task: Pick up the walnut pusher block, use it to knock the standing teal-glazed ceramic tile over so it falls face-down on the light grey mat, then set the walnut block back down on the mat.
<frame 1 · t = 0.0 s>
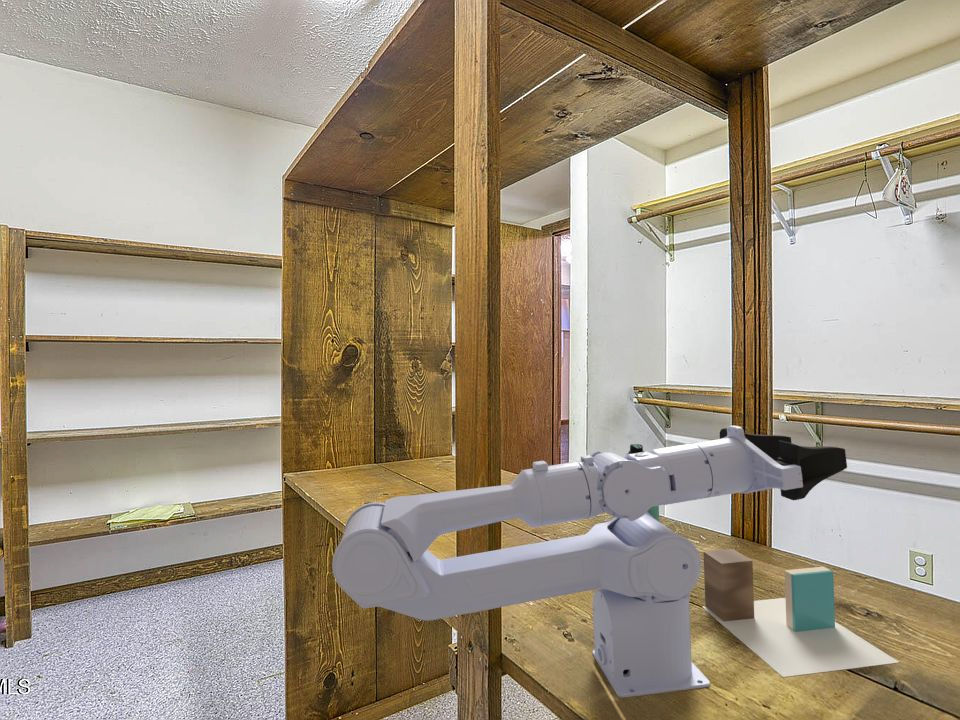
hand: (814, 451, 57), 22 cm above the table, tool horizontal, fingers open, 7 cm apart
walnut block: (729, 611, 66), resting on mat
spray can: (641, 587, 75), on the table
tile: (810, 626, 62), resting on mat
mat: (790, 634, 61), on the table
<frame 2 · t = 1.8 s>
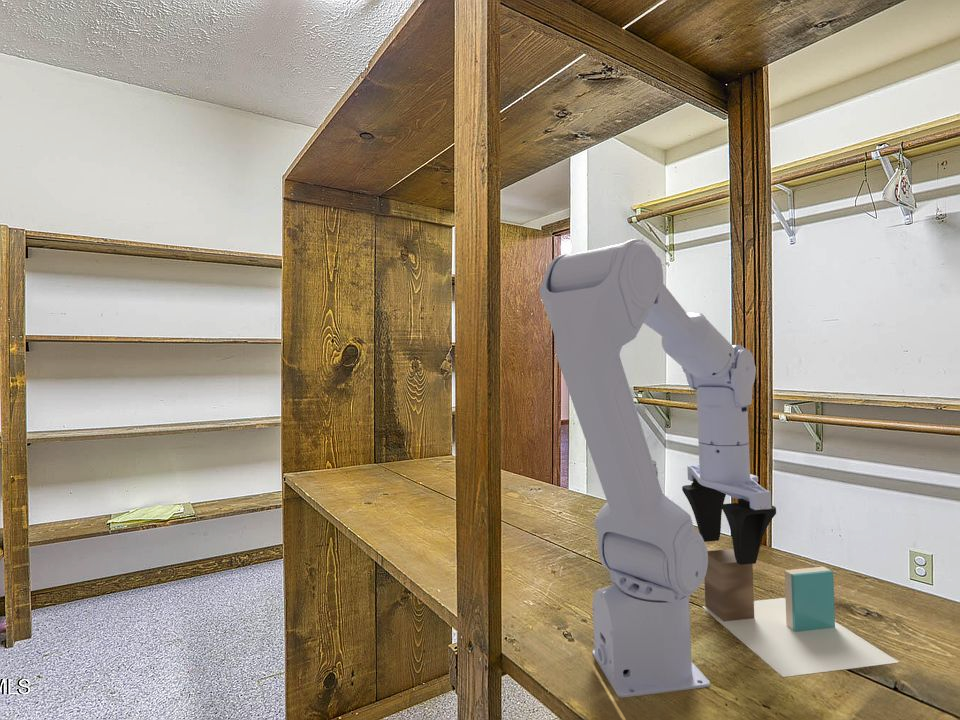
hand: (727, 551, 66), 8 cm above the table, tool pointing down, fingers open, 7 cm apart
nothing on the table moved.
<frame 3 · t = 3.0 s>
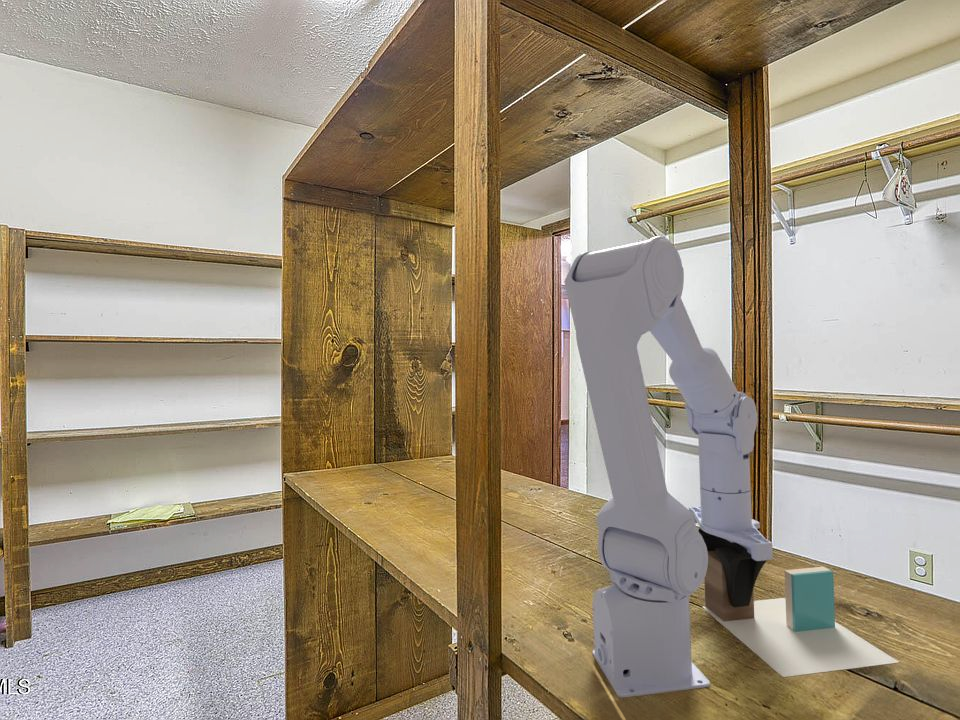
hand: (728, 596, 66), 2 cm above the table, tool pointing down, fingers closed on walnut block, 4 cm apart
walnut block: (729, 611, 66), resting on mat, touching gripper
everything else where it was.
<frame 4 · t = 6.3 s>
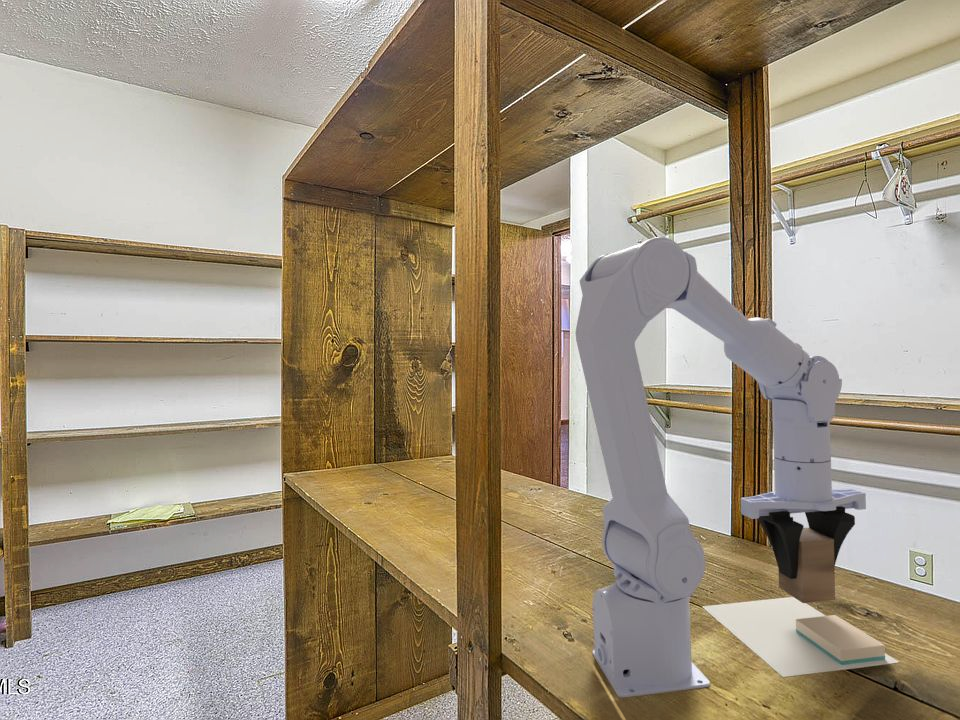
hand: (805, 573, 62), 6 cm above the table, tool pointing down, fingers closed on walnut block, 4 cm apart
walnut block: (806, 593, 62), point 4 cm above the table, touching gripper
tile: (815, 623, 61), point 1 cm above the table, tilted 90°, touching mat
everything else where it was.
when the fingers open (4 cm above the table, at t = 9.2 s): walnut block stays where it is, resting on mat.
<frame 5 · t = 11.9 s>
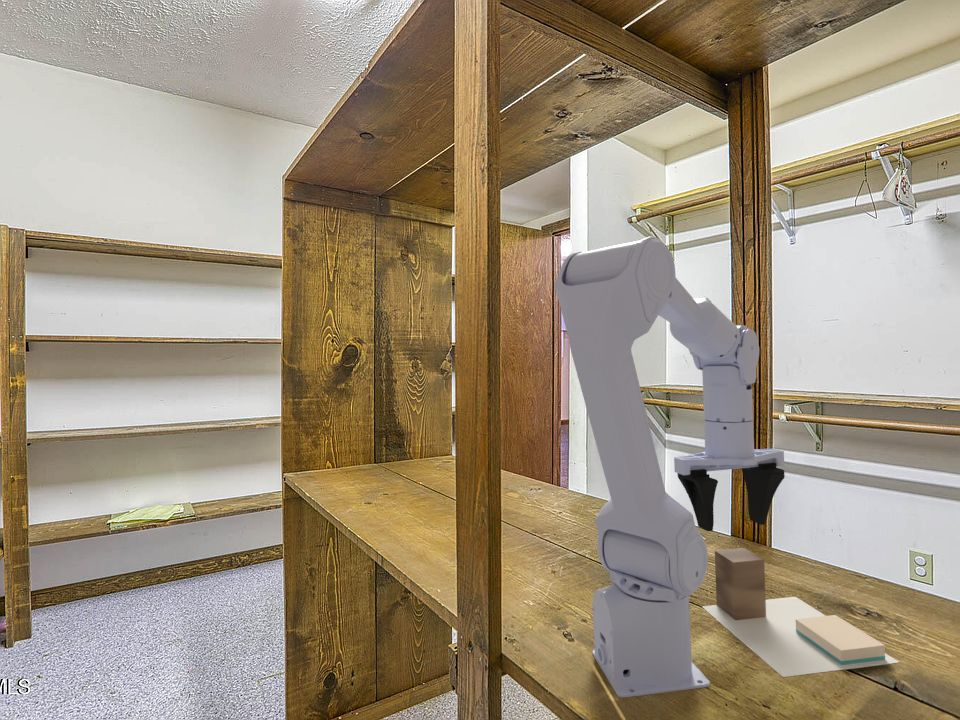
hand: (731, 525, 68), 10 cm above the table, tool pointing down, fingers open, 7 cm apart
walnut block: (740, 610, 66), resting on mat
everything else where it was.
at the end: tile tilted 90°; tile inside the target area (2.3 cm from its centre), point 1.1 cm above the table; walnut block resting on mat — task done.
